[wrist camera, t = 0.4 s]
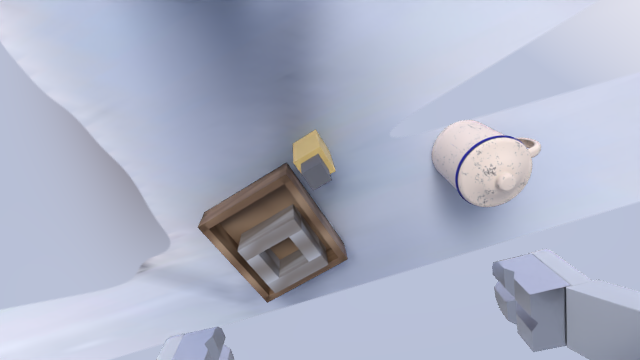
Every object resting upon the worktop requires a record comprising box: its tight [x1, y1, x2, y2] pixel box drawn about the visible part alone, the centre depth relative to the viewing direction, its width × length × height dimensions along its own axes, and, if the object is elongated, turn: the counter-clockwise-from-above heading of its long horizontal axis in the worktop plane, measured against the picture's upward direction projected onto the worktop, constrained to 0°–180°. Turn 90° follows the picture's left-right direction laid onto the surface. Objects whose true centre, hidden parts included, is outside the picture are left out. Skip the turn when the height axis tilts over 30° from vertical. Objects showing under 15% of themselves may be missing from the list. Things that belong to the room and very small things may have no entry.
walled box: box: [198, 163, 348, 303], centre depth 49 cm, size 16×14×5 cm
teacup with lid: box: [432, 120, 541, 207], centre depth 43 cm, size 12×9×12 cm
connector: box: [293, 130, 336, 191], centre depth 42 cm, size 4×4×10 cm
